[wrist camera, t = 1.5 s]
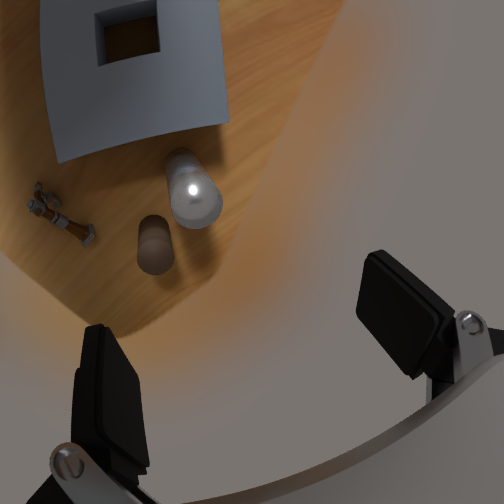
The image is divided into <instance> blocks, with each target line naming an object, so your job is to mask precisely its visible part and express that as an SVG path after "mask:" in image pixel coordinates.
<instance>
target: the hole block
mask: <svg viewBox="0 0 504 504" xmlns="http://www.w3.org/2000/svg"><path fill="white" fill-rule="evenodd" d="M151 16H156V25H157V37H158V48H159V52H156V53H151V54H146V55H142V56H137V57H133V58H128V59H124V60H120V61H116V62H113V63H109V64H107V58H106V47H105V33H104V27H107V26H111V25H115V24H118V23H122V22H127V21H131V20H136V19H140V18H146V17H151ZM40 51H41V65H42V76H43V85H44V93H45V100H46V106H47V113H48V118H49V124H50V129H51V134H52V139H53V143H54V148H55V152H56V156H57V160H58V164H60V163H63V162H66V161H69V160H72V159H75V158H78V157H81V156H84V155H87V154H90V153H93V152H96V151H100V150H103V149H106V148H110V147H113V146H117V145H121V144H124V143H128V142H132V141H136V140H140V139H144V138H149V137H153V136H157V135H162V134H166V133H171V132H176V131H181V130H187V129H192V128H198V127H204V126H210V125H216V124H223V123H230V121H229V111H228V101H227V91H226V81H225V71H224V61H223V50H222V39H221V29H220V18H219V7H218V0H40Z"/></svg>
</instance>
